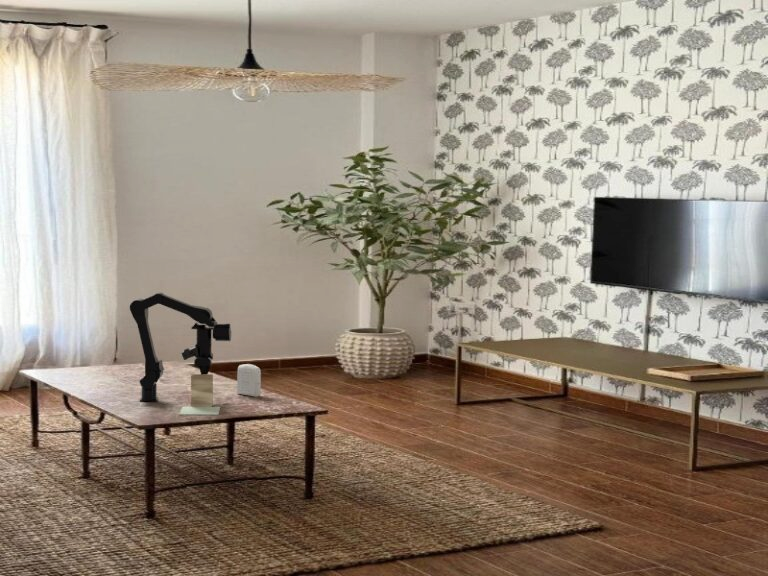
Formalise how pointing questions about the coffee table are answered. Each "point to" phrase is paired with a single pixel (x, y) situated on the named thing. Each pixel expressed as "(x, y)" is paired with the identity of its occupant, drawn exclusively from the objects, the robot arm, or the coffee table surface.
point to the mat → (199, 411)
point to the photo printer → (249, 380)
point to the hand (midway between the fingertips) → (203, 380)
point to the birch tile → (201, 390)
